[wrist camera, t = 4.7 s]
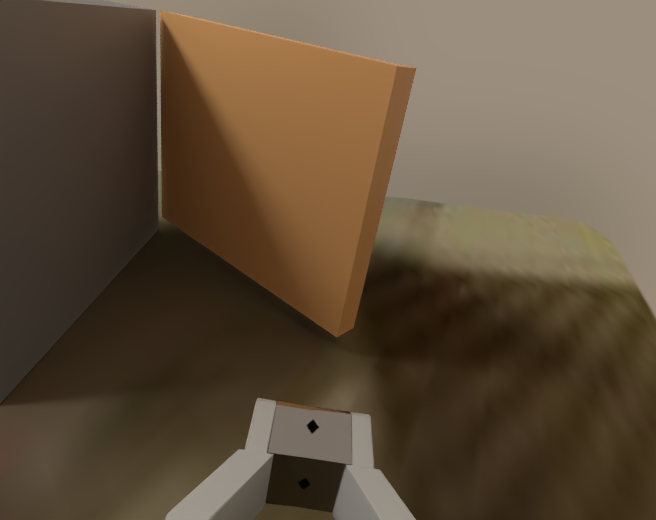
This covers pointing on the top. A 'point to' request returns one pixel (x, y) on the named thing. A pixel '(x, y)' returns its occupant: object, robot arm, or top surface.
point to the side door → (279, 157)
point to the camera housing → (71, 163)
